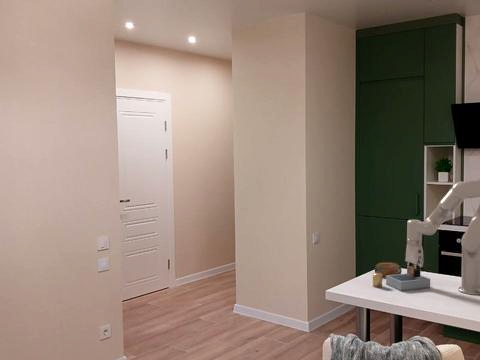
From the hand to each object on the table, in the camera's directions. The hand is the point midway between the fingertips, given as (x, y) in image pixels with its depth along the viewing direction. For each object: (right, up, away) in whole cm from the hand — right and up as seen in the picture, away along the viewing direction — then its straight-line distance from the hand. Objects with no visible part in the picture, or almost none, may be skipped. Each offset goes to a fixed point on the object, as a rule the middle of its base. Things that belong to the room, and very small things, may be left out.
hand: (413, 275), depth 267 cm
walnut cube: (0, -1, 0) cm, 1 cm away
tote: (-4, -6, -1) cm, 7 cm away
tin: (-8, -5, +20) cm, 22 cm away
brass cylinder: (-20, -6, 0) cm, 21 cm away
